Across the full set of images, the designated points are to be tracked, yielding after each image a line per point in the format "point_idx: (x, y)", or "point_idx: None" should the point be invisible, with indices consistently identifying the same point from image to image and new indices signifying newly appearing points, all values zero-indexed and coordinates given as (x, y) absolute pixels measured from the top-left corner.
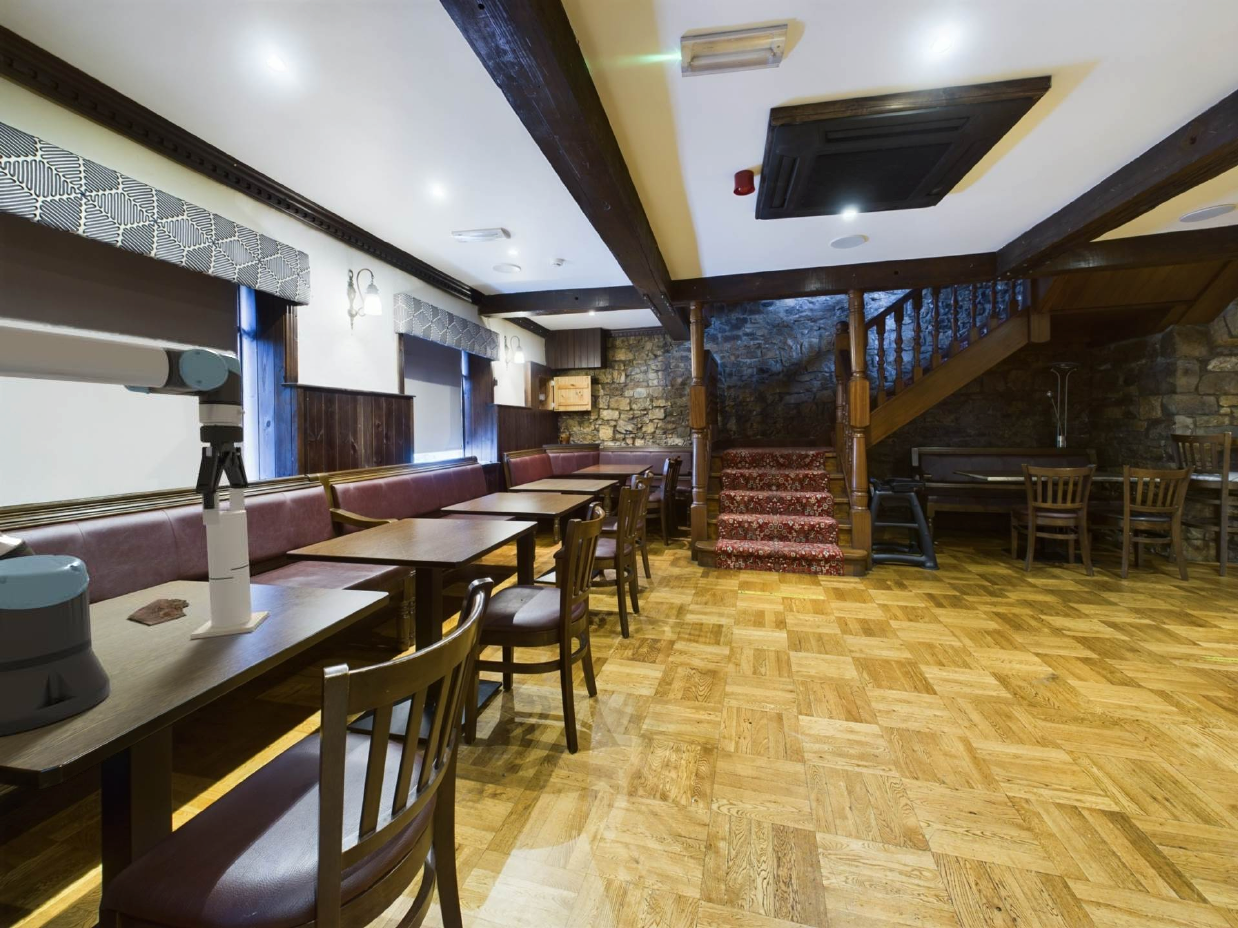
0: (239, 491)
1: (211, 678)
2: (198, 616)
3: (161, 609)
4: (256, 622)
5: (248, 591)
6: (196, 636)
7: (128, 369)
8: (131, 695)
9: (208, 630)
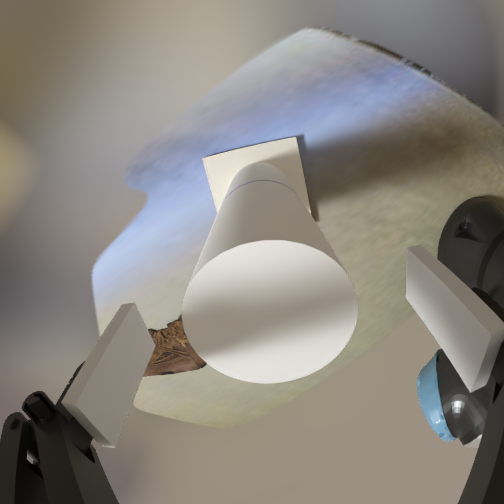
0: (92, 403)
1: (452, 110)
2: None
3: (168, 350)
4: (270, 143)
5: (257, 170)
6: None
7: None
8: (470, 176)
9: None
